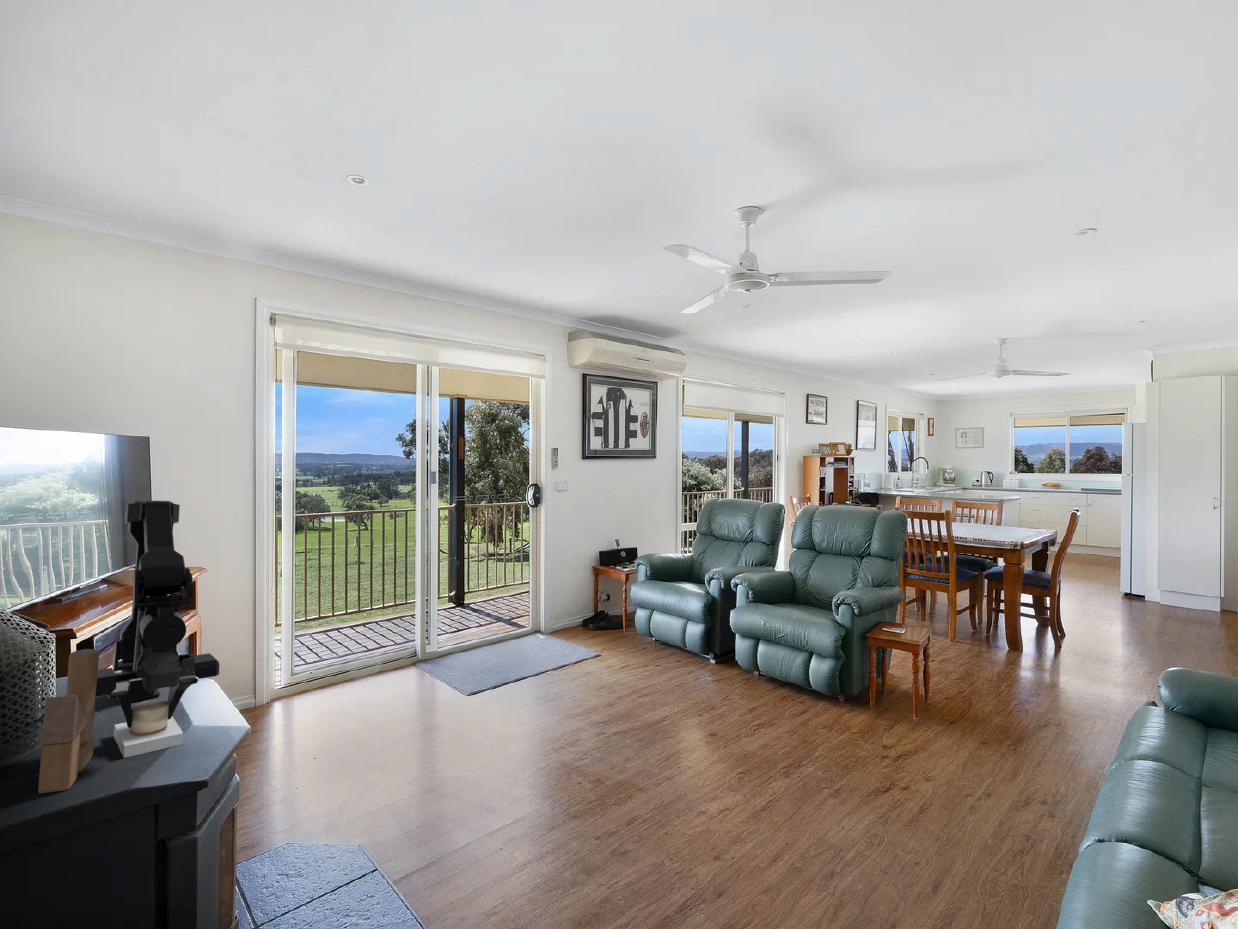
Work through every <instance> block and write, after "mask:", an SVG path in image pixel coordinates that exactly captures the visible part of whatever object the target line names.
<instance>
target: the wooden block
mask: <svg viewBox="0 0 1238 929" xmlns="http://www.w3.org/2000/svg"><path fill="white" fill-rule="evenodd" d="M99 656H100V651H99V650H98V649H95V648H83V649H78V650H75V651H73V652H70V653H69V656H68V666H67V668H68V669H67V676H66V677H67V678H66V679H67V681H66V690H65V693H66V694H65V695H62V696H61V695H60V696H50V697H49V696H48V697H46V698H45V701H44V709H43V710H44V712H43V722H42V731H41V732H42V734H41V735H42V736H41V745H42V746H41V752H40V754H41V755H40V763H39V764H40V766H39V776H38V777H39V778H38V787H37V788H38V789H37V791H38V794H48V793H53V792H55V793H57V792H61V791H62V792H63V791H67V790H69V789H71V787H72V785H73V784H74V783H75V781H76V780H77V778H78V774H80V773H81V772H82V771H83V770H84V768H85V767H86V766H87V765H88V763H89V762H90V760H92V757H93V755H94V747H95V746H94V743H95V735H93V731H94V729H93V728H94V719H95V718H94V717H95V706H96V697H95V695H96V684H97V672H98V670H99V658H100V657H99Z"/></svg>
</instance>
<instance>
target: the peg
mask: <svg viewBox="0 0 1238 929" xmlns="http://www.w3.org/2000/svg"><path fill="white" fill-rule="evenodd" d="M131 709H132V724H131V727H130V734H132V735H137V736H140V735H150V734H155V733H158V732H161V731H163V730H164V729H166V728H167V725H168V712H169V702H168V700H163V699H154V700H146V701H141V702H139V703H137V704H134V705H133V706H131Z"/></svg>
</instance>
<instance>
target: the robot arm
mask: <svg viewBox="0 0 1238 929" xmlns="http://www.w3.org/2000/svg"><path fill="white" fill-rule="evenodd" d="M180 507H181V505H180V504H177V503H174V502H173V501H171V500H134V501H133V503H127V505H126V506H125V511H124V524H128V528H127V529H128V530H127V531H128V533H129V534H130V536H131V538H132V539H133V540H134V541H135V544H136V549H135V552H136V553H135V566H134V571H133V575H132V576H133V577H132V605H131V617H130V618H129V619H127V620H128V621H126V623H125V624H124V626H123V627H122V628H121V629H120V633H119V639H118V640H117V639H116V640H115V643H114V647H113V648H114V649H113V651H112V652H113V653H112V663H111V664H112V667H107V668H102V669H100V668H99V669H98V672H97V684H96V695H95V698H96V697H102V696H103V697H104V696H107V697H108V699H116V701H117V703H118V704H119V705H120V709H121V712H122V714H123V717H124V721H125V722H126V724H127V727H128V728H130V727H131V724H132V702H136V701H142V700H147V699H152V698H157V697H159V696H160V695H161V693H160V692H159V690H158V689H164V688H169V689H168V690H169V692H168V697H167V701H168V702H169V712H168V720H169V719H171V717H173V715H174V713H175V711H176V708H177V707H178V705H179V702H180V701H181V698H182V697H183V695H184V693H185V692H186V691H187V689H189V687H191V686H192V685H195V684H197V683H198V682H199V680H201V679H206V678H211V677H217V676H219V675H220V666H221V665H220V662H219V660H218V659H217V658H216V657H215V656H214V655H212V654H211V653H210V652H209V653H202V654H195V655H194V653H193V652H192V653H185V654H179V652H178V650H177V648H178V646H177V645H179V644H180V643H181V642H182V641H183V640H184V638H185V636H186V633H187V626H186V623H185V621H184V619H183V618H182V615H181V614H180V605H190V604H191V598H193V597H194V581H193V573H191V569H190V568H189V567H186V566H185V558H184V556H183V555H182V554H181V553H180V552H178V551H176V550H175V542H174V524H178V523H179V522H180ZM182 593H183V594H182ZM118 671H120V672H118ZM115 672H117V673H115ZM198 679H199V680H198Z"/></svg>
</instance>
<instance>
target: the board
mask: <svg viewBox="0 0 1238 929" xmlns="http://www.w3.org/2000/svg"><path fill="white" fill-rule="evenodd" d="M113 727H114V728H113V738H114V740H115V743H116V744H118V745H117V747H118V748H119V751H120V753H121V755H123V756H122V758H123V757H124V758H123V759H126V757H127V758H130V757H135V756H139V755H143V754H148V753H151V752H155V751H160V750H164V749H168V748H173V747H176V746H181V745H183V743H184V742H183V741H184V732H183V730H182V729H181V727H180V726H179V724H178V723H177V721H176V720H175V718H174V717H173V716H172V717H171V719H169V720H168V725H167V728H166V729H164V730H163V731H161V732H158V733H155V734H150V735H140V736H137V735H132V734H130V728H128V727H127V724H126V721H125V722H121V723H117V724H114V726H113Z"/></svg>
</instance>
